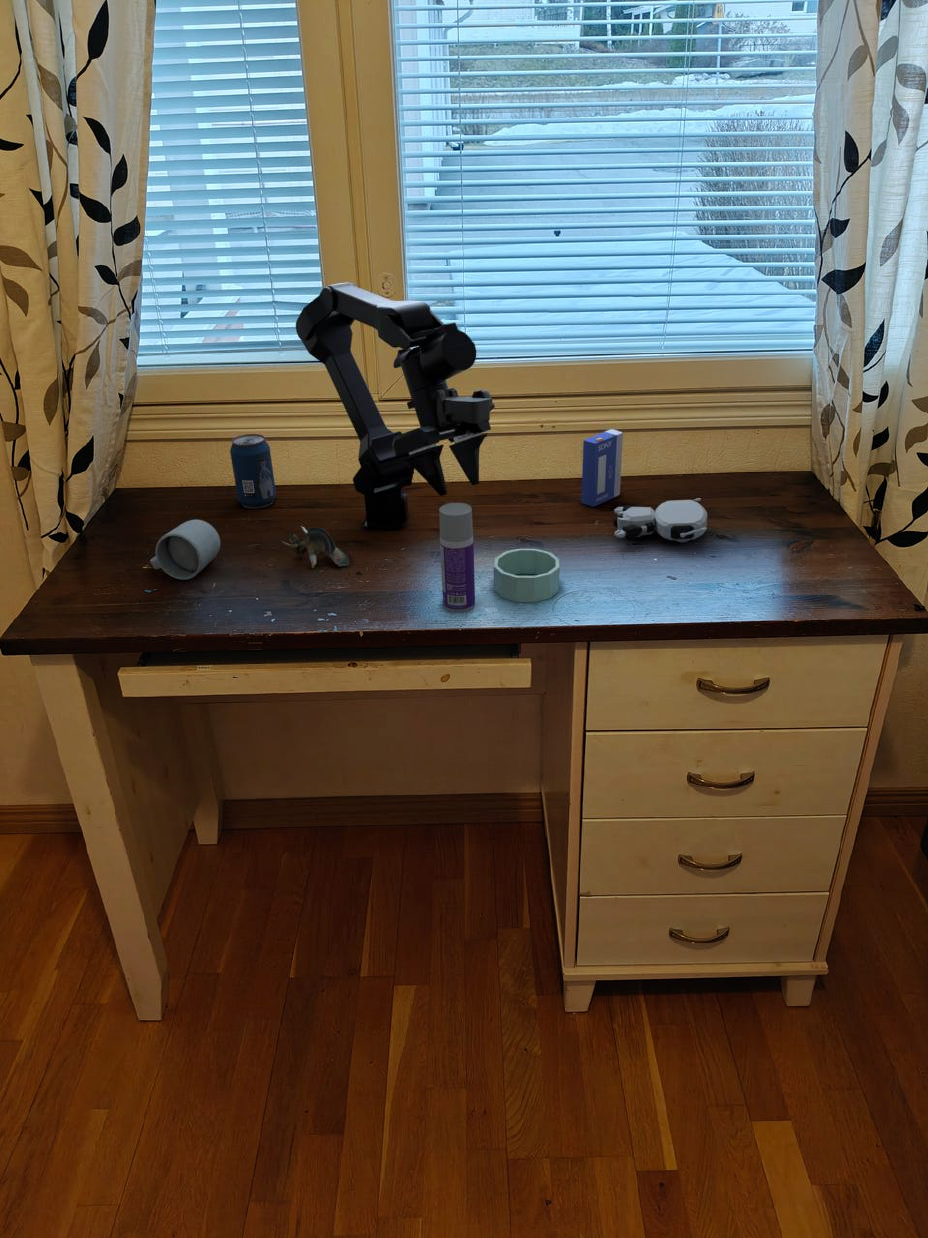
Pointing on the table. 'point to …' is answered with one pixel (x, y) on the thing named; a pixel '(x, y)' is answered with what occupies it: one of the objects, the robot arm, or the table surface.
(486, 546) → the table surface
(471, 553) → the container
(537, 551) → the pale green faceted ring
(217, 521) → the table surface
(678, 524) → the robot toy
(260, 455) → the soda can
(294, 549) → the grey-brown animal figure
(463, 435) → the robot arm
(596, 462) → the walkman
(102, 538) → the table surface
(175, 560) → the ceramic mug
